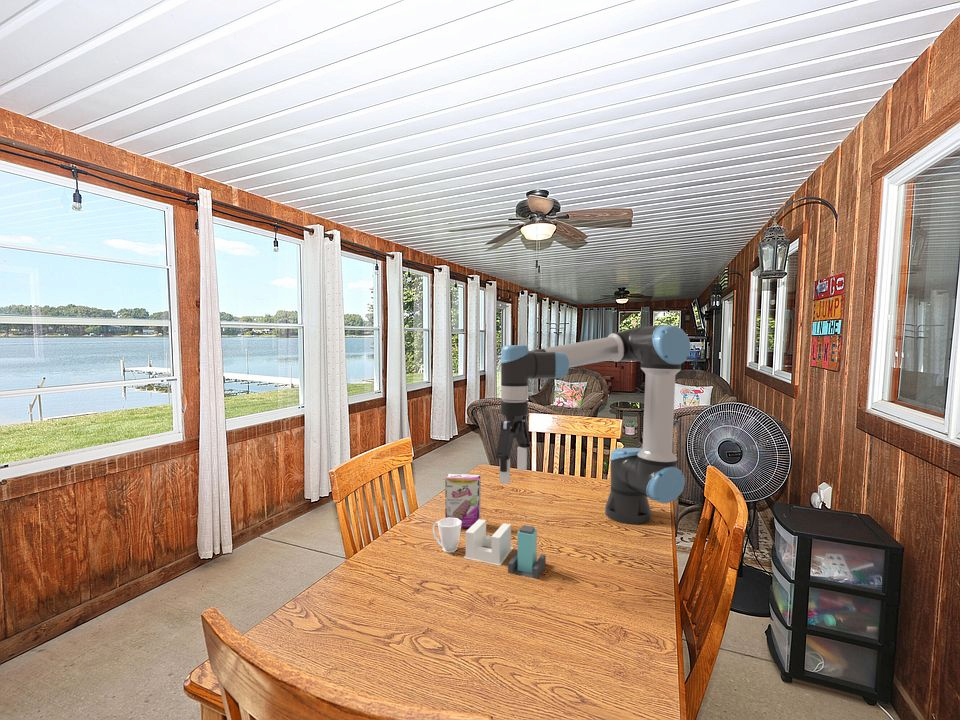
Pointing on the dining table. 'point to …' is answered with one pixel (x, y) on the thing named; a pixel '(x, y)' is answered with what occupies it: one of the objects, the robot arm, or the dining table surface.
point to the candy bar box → (463, 498)
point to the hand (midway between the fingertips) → (513, 476)
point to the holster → (536, 572)
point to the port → (488, 543)
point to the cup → (448, 533)
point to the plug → (527, 548)
